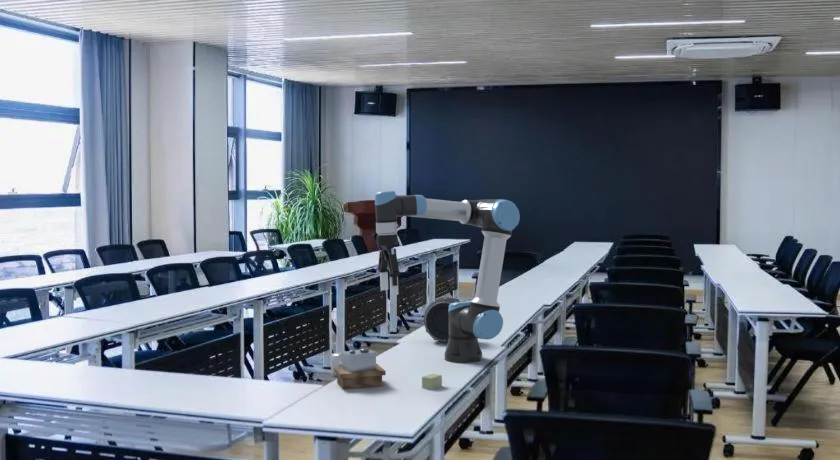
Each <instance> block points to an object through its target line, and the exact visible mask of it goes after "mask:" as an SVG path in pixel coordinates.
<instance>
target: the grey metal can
mask: <svg viewBox="0 0 840 460" xmlns="http://www.w3.org/2000/svg"><path fill="white" fill-rule="evenodd" d="M334 367H342V351H341V352H333V353H330V376H331V377H333V378H337V374H336V373H335V372H334Z"/></svg>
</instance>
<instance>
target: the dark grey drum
mask: <svg viewBox="0 0 840 460" xmlns="http://www.w3.org/2000/svg"><path fill="white" fill-rule="evenodd" d="M456 302H461V301H460V300H458V299H457V298H454V297H451V296H449V297H448V296H443V297H439V298H436V299H434V300H433V301H432V302H430V303H429V305H428V306H427V307H425V311H424V314H423V320H422V322H423V323H424V325H423V326H424V328H425V333H427V334H428V335H429V336H430V337H431V338H432V339H433V341H438V342H439V343H444V344H448V343H447V342H448V341H449V314H448V310H449V305H450V304H451V303H456Z"/></svg>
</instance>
